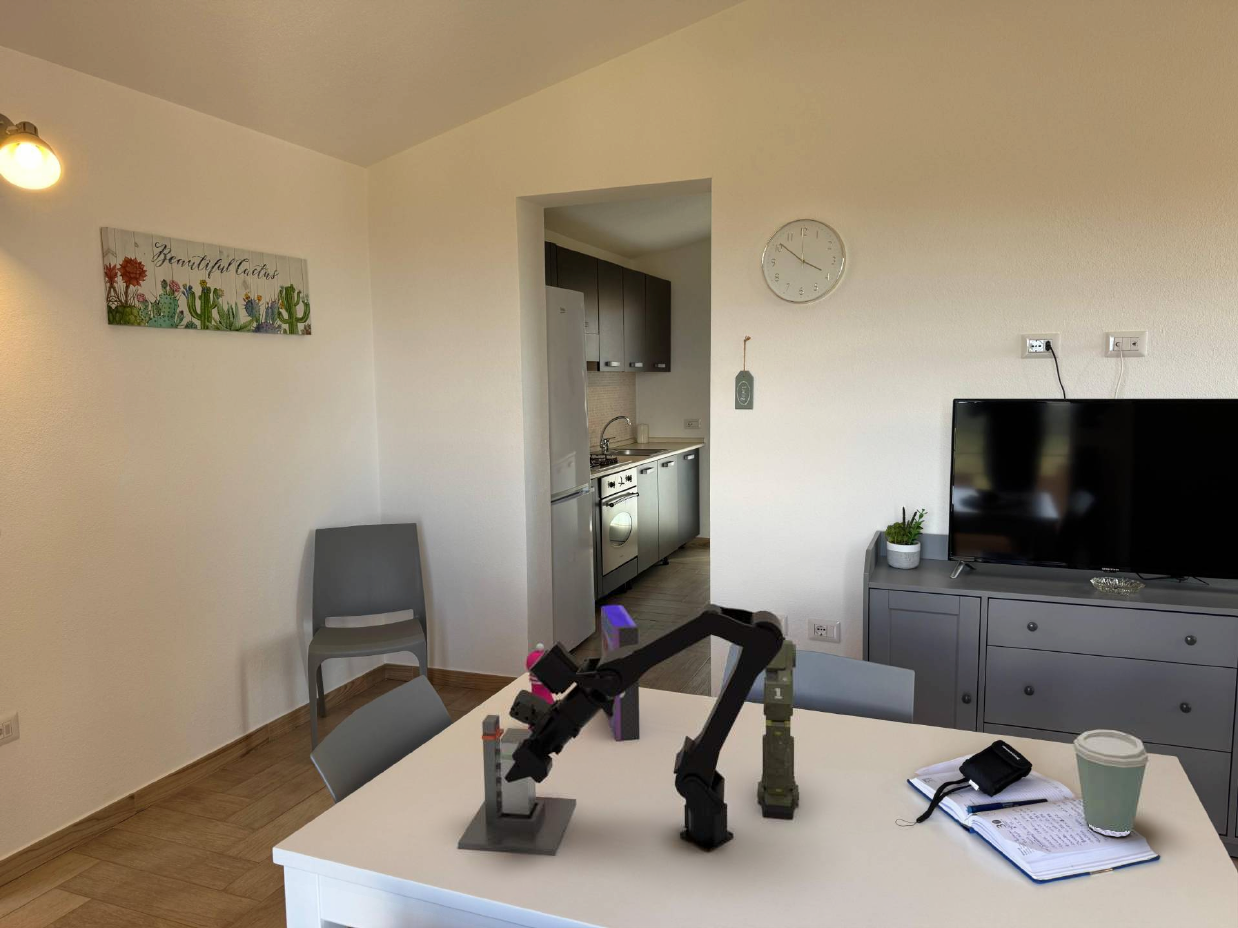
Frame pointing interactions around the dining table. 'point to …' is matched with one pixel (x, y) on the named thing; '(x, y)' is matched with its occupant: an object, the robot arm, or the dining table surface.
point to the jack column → (521, 792)
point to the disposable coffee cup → (1110, 777)
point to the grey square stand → (508, 829)
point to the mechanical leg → (779, 738)
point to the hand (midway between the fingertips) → (510, 773)
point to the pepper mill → (535, 683)
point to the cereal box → (626, 716)
